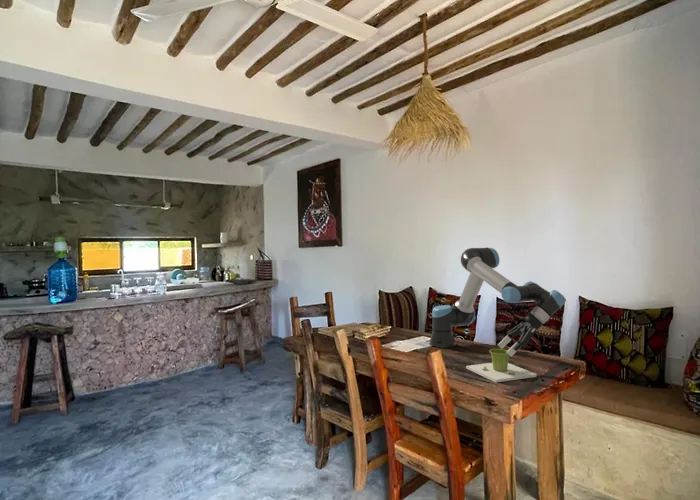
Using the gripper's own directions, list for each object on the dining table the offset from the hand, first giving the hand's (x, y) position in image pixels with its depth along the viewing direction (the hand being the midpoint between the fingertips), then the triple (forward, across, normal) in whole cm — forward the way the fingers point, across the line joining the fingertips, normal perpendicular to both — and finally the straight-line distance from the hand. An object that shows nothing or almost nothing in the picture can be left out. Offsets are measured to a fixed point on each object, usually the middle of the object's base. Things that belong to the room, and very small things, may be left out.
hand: (504, 350), depth 189 cm
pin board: (+9, +1, -6) cm, 11 cm away
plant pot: (+8, +1, -6) cm, 10 cm away
